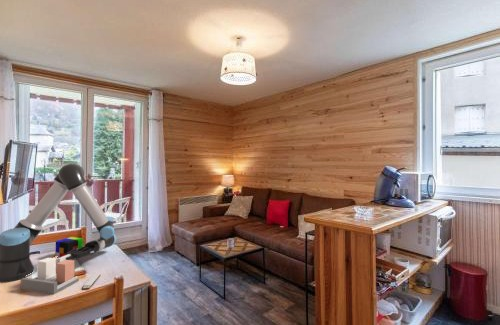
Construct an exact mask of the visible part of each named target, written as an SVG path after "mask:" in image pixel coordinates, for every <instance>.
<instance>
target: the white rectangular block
mask: <svg viewBox="0 0 500 325" xmlns="http://www.w3.org/2000/svg"><path fill="white" fill-rule="evenodd" d="M56 264H57V258H56V257H55V258H54V257H46V258H43V259H40V260H39V261H37V275H36V276H37V279H39V280H46V279H48V278H50V277H52V276H55V275H56Z"/></svg>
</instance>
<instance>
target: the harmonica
mask: <svg viewBox="0 0 500 325" xmlns="http://www.w3.org/2000/svg"><path fill="white" fill-rule="evenodd" d="M100 277H101V274H100V273H98V274H93V275H91V276H90V278H89V279H88V280H87V281H86V282H85V284H84V285H83V287H82V289H81V290H82V291H85V290H90V289H91V288H92V287H93V285H94V284H95V283H96V282H97V280H98V279H99V278H100Z"/></svg>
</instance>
